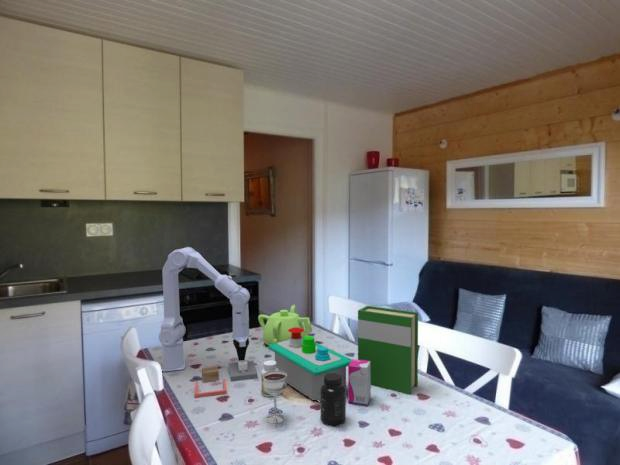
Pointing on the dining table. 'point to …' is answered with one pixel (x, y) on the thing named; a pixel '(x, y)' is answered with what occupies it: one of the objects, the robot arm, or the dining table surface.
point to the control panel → (308, 363)
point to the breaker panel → (244, 374)
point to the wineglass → (274, 390)
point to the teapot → (283, 325)
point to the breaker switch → (242, 366)
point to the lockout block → (210, 374)
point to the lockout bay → (211, 391)
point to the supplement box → (359, 382)
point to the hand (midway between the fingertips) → (241, 359)
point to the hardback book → (389, 347)
